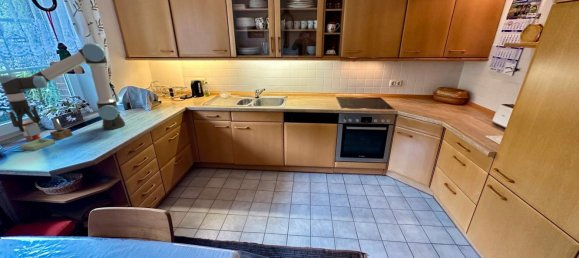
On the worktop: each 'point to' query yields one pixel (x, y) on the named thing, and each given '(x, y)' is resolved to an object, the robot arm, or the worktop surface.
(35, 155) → the worktop surface
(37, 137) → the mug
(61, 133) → the bored block
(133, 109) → the worktop surface
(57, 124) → the pin gauge
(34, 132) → the block
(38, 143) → the tray
